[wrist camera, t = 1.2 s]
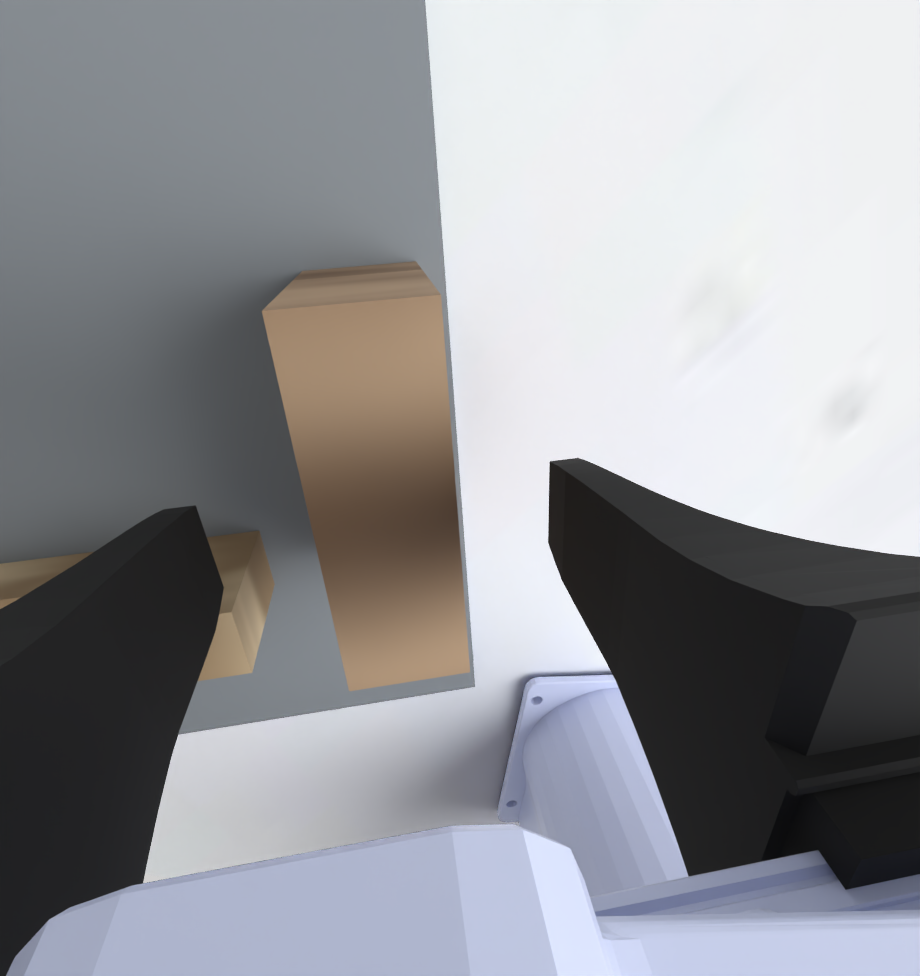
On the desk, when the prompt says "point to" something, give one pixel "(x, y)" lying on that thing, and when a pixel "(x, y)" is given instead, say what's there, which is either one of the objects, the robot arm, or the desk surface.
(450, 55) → the desk surface
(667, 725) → the robot arm
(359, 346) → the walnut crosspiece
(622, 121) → the desk surface
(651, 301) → the desk surface
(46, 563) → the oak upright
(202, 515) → the slate mat
